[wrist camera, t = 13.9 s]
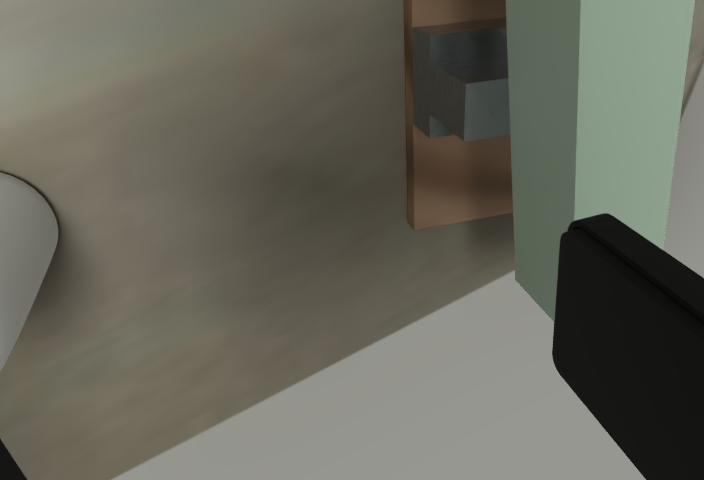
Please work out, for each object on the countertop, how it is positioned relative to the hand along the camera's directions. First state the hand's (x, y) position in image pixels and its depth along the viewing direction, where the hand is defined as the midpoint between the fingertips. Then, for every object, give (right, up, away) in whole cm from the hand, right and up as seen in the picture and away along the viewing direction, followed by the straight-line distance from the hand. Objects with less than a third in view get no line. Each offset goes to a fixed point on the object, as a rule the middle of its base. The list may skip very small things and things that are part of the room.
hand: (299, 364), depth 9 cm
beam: (+11, +9, +21) cm, 25 cm away
